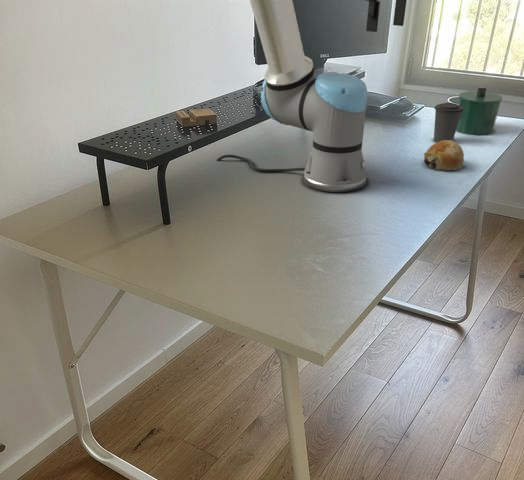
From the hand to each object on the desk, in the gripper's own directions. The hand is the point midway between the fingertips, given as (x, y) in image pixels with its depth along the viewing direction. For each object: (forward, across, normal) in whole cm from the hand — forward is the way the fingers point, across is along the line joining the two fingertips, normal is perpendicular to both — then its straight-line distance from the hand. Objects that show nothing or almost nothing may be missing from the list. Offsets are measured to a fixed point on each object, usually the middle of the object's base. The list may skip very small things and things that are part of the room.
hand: (385, 28), depth 145 cm
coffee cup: (+29, -12, +16) cm, 35 cm away
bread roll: (+29, +7, +25) cm, 39 cm away
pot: (+28, -29, +18) cm, 44 cm away
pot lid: (+19, -29, +18) cm, 39 cm away
